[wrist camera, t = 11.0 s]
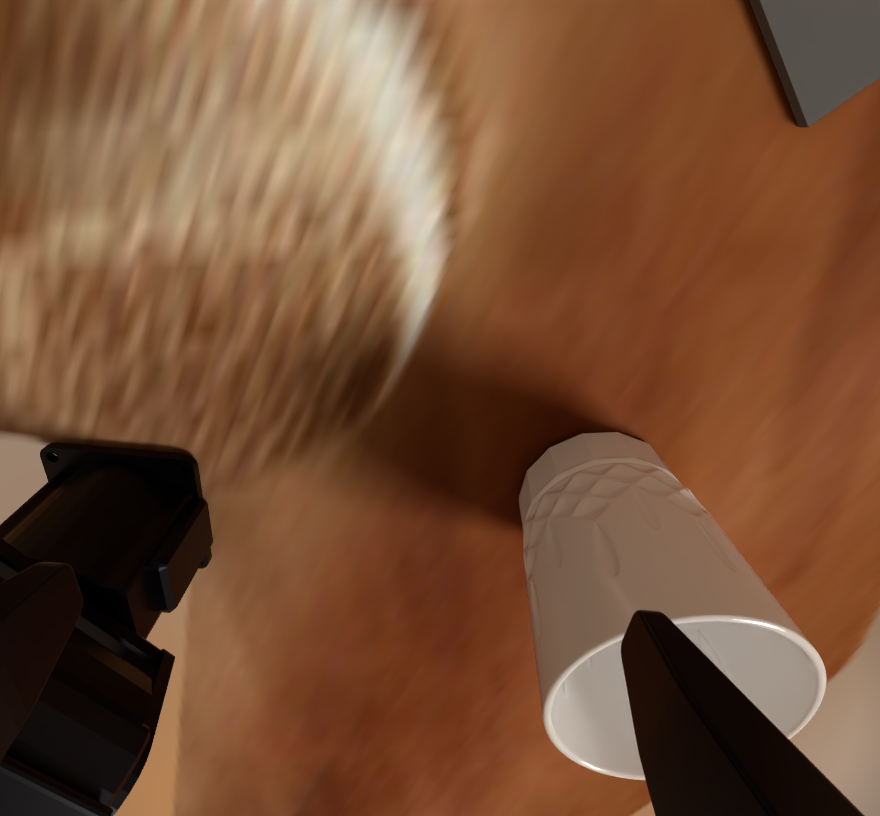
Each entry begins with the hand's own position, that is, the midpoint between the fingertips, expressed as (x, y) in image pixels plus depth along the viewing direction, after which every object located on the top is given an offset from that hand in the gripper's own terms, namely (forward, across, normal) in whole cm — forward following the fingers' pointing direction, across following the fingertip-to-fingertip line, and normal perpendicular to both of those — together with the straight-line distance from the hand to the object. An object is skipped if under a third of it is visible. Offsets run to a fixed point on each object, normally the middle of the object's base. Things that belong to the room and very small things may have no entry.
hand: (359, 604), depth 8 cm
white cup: (+13, -9, +7) cm, 17 cm away
